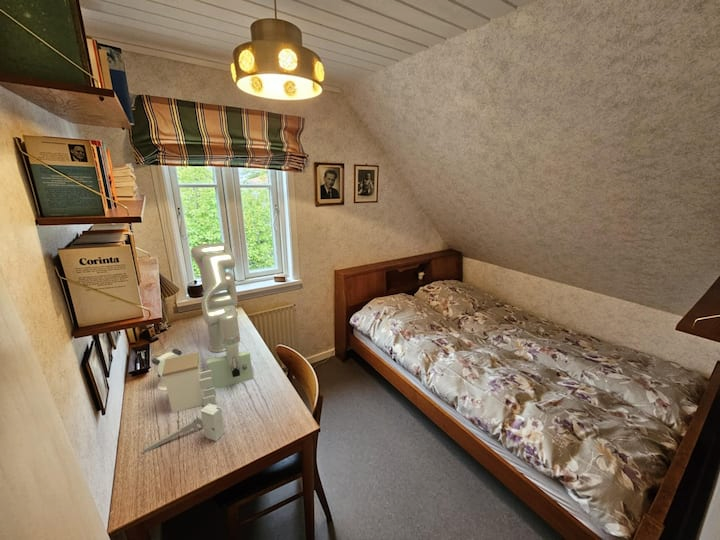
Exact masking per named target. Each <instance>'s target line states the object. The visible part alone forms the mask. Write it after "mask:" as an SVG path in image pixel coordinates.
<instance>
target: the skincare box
mask: <svg viewBox="0 0 720 540" xmlns="http://www.w3.org/2000/svg"><path fill="white" fill-rule="evenodd" d="M222 410H223V409H222V407H221V406H218V405H216V404H213V405H212V404H210V403H209V404H208V405H207V406H205V407H204V406H203V408H202V409H201V410H200V415H201V419H202V422H203V433H204V434H203V435H204V437H205V438H207V439H209V440H211V441H215V442H217V441H218V440H219V439H220V438H221V437H222V436H223V435H224V434H225V429H224V428H225V427H224V420H223V412H222Z"/></svg>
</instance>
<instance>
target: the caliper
mask: <svg viewBox="0 0 720 540" xmlns="http://www.w3.org/2000/svg"><path fill="white" fill-rule="evenodd" d="M198 425H199V426H200V427H201V429H203V422H202V417H198V416H196V417H193V420H191V421H190V422H188V423H185V424H184V425H182V426H181V427H180V428H178V429H177V430H175V431H173V432H172V433H170V434H168V435H165V436H164V437H162V438H160V439H158V440H156V441H154V442H153V443H150V444H149V445H148V446H145V447H144V449H142V450H141V451H140V455H142V454H144V453H147V452H150V451H151V450H153V449H156V448H157V447H159V446H161V445H163V444H165V443H166V442H168V441H170V440H172V439H173V438H176V437H177V436H179V435H181V434H186V433H187V432H188V433H189V431H191V430H192V429H194V430H195V431H196V432H198V431H199V430H200V429H199V428H198ZM203 430H204V429H203Z"/></svg>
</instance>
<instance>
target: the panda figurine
mask: <svg viewBox="0 0 720 540" xmlns="http://www.w3.org/2000/svg"><path fill="white" fill-rule="evenodd" d="M179 356H182V351H181V350H180V349H177V348H173V349H172V351H169V352H166V353H164V354H161V355H160V356H158V357H157V358H156V357H155V358H154V357H153V358H152V359H151V363H152V364H153V370H154V372H155V374H157V377H158V378H159V379H160V381H158V383H157V389H158V390H159V391H162V392H167V389H166V384H165V380H164V377H163V376H162V372H163V368H164V364H165V360H166V359H170V358H175V357H179Z"/></svg>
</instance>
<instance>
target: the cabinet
mask: <svg viewBox="0 0 720 540" xmlns="http://www.w3.org/2000/svg"><path fill="white" fill-rule="evenodd" d="M162 376H163V377H164V380H165V384H166V389H167V391H166V393H167V397H168V401H169V405H170V409H171V413H172V414H174V413H177V412H180V411H186V410H188V409H193V408H196V407H200V406H203V408H204V407H205V406H207V405H208V404H209V403H210V404H212V405H216V404H217V402H216V395H217V394H216V389H215V388H214V387H212V386H213V383H212V379H213V376H212V371H211V370H208V369H207V370H204V371H202V367H201V363H200V353H199V352H195V353H190V354H185V355H179V357H175V358H170V359H166V360H165V364H164V368H163V372H162Z"/></svg>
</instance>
